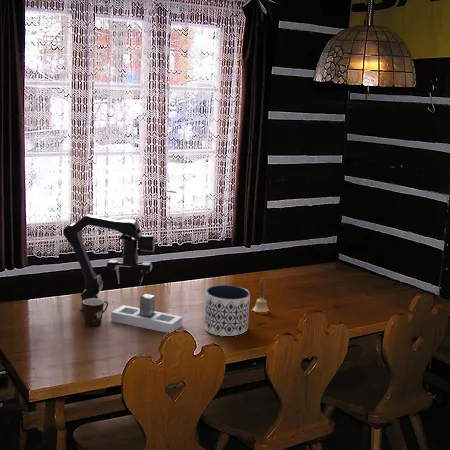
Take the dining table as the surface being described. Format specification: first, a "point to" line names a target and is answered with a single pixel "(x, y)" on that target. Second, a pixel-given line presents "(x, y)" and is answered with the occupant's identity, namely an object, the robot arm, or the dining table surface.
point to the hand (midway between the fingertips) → (129, 284)
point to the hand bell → (261, 299)
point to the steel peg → (147, 305)
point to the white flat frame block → (146, 319)
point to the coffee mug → (93, 312)
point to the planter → (226, 310)
